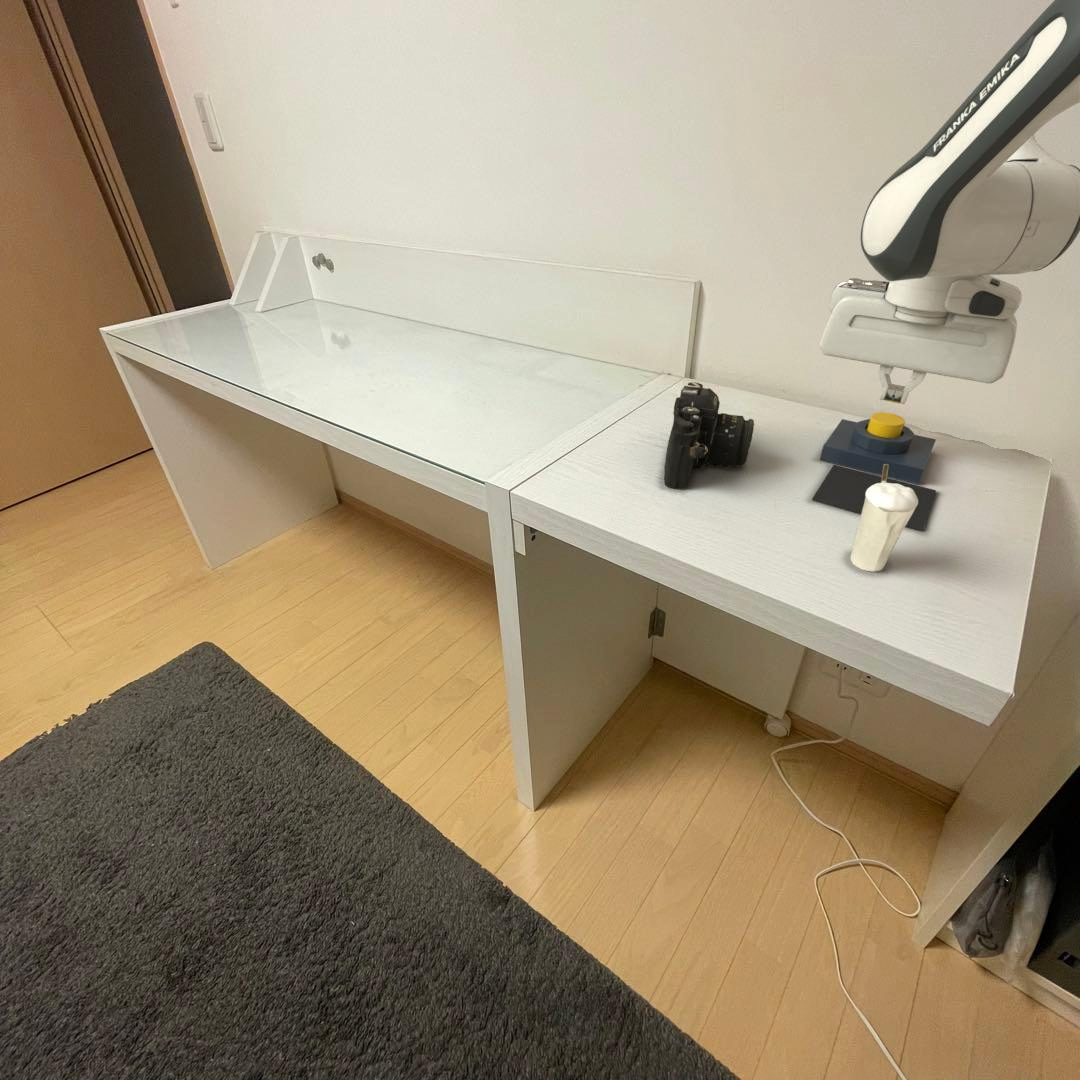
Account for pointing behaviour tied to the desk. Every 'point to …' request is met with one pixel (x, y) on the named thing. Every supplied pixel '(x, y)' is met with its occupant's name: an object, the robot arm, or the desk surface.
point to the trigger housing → (878, 451)
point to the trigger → (886, 425)
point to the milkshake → (881, 522)
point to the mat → (850, 491)
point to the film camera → (703, 436)
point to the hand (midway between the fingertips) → (892, 400)
